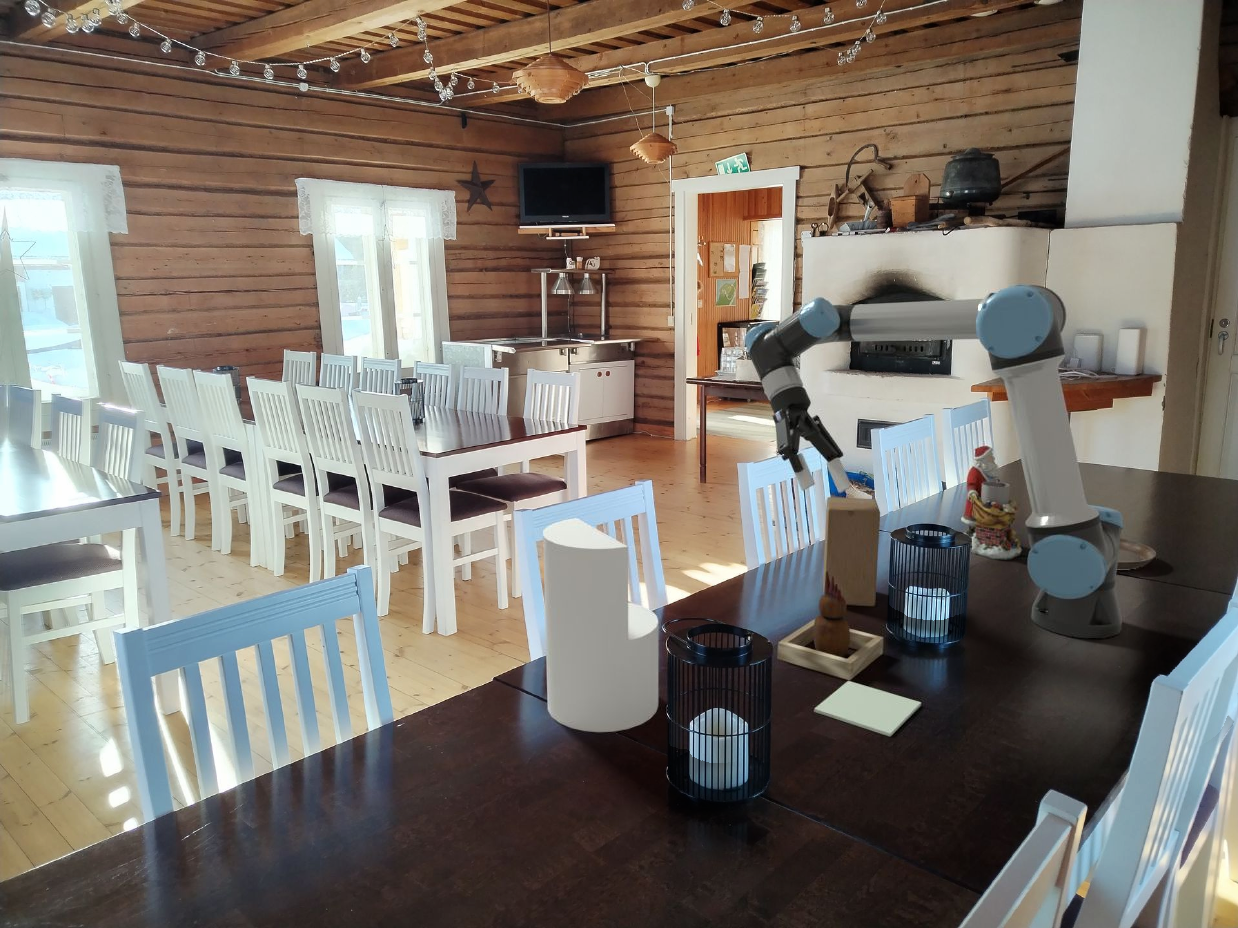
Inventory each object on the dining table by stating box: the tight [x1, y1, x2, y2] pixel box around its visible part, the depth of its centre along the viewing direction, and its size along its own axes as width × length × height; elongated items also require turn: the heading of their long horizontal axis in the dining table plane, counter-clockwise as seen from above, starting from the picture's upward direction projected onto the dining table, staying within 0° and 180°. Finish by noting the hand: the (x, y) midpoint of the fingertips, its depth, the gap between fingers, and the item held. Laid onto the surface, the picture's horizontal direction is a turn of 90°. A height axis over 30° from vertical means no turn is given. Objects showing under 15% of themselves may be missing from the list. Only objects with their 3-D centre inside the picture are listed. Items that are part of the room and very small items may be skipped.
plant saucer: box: [1117, 537, 1157, 569], centre depth 204 cm, size 21×21×3 cm
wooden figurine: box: [813, 571, 850, 658], centre depth 152 cm, size 7×6×15 cm
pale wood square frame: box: [776, 619, 884, 681], centre depth 153 cm, size 13×13×3 cm
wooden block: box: [822, 496, 881, 607], centre depth 179 cm, size 10×10×20 cm
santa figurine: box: [960, 445, 1023, 560], centre depth 210 cm, size 17×14×25 cm
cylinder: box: [542, 517, 659, 733], centre depth 134 cm, size 17×17×28 cm
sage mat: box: [813, 680, 922, 737], centre depth 135 cm, size 12×12×1 cm
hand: (827, 488), depth 169 cm, fingers open, 13 cm apart
